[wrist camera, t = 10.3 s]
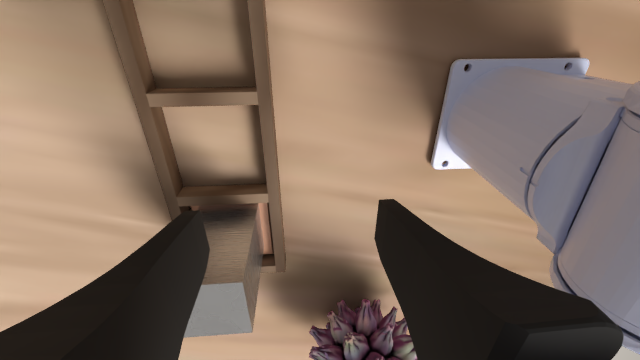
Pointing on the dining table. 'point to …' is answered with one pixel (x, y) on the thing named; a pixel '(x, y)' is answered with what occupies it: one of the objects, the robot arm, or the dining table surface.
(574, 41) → the dining table surface
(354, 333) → the spiky ball
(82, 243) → the dining table surface
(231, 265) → the square peg
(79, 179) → the dining table surface
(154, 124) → the rail
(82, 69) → the dining table surface
